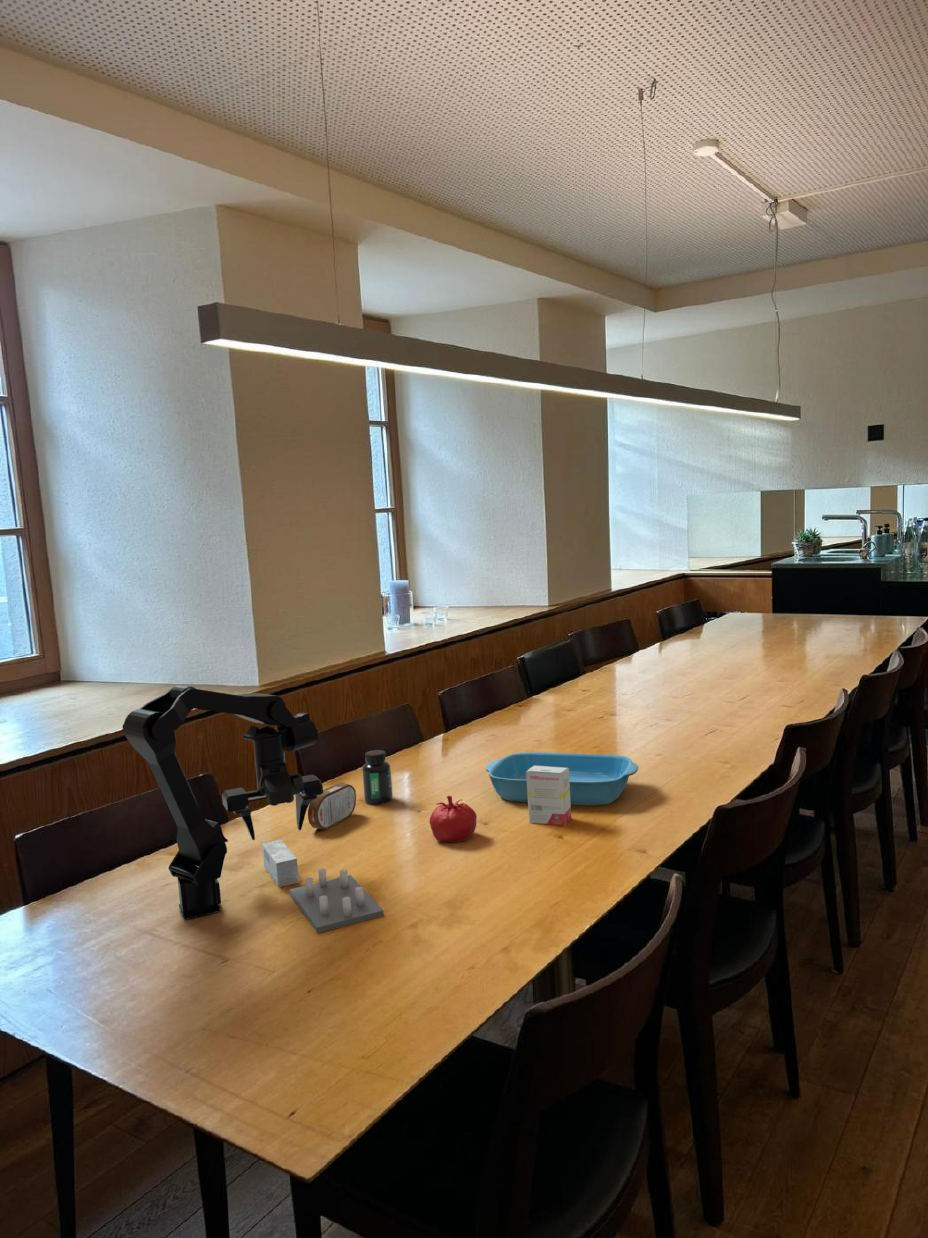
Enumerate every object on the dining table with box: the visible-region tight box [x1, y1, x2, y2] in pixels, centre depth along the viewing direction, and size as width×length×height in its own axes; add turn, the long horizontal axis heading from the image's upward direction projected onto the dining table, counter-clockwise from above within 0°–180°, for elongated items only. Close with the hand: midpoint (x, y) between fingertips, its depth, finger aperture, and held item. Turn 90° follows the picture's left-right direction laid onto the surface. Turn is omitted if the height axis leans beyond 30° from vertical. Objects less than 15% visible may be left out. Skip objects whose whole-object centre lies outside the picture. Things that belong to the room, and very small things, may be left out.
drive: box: [261, 838, 300, 888], centre depth 181 cm, size 4×12×5 cm, turn 25°
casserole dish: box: [484, 751, 639, 806], centre depth 219 cm, size 37×22×7 cm, turn 70°
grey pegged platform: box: [289, 868, 385, 934], centre depth 165 cm, size 12×18×4 cm, turn 25°
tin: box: [307, 782, 357, 830], centre depth 208 cm, size 15×3×8 cm, turn 150°
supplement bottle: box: [361, 749, 394, 806], centre depth 222 cm, size 7×7×12 cm
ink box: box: [526, 766, 572, 826], centre depth 201 cm, size 9×5×12 cm, turn 67°
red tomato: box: [429, 795, 478, 843], centre depth 194 cm, size 10×10×9 cm
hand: (276, 834), depth 180 cm, fingers open, 9 cm apart
